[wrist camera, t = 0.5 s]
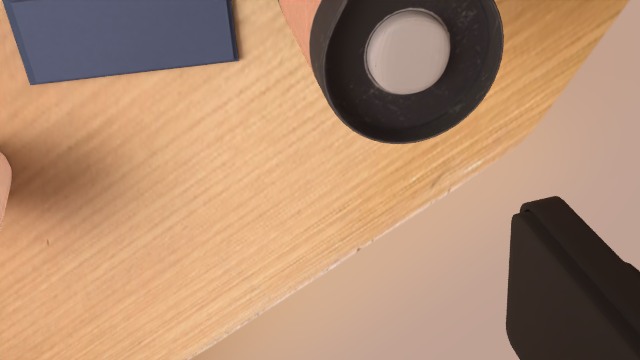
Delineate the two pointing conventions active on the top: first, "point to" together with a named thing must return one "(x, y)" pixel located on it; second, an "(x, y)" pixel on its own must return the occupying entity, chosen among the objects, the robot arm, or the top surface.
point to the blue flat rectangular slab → (119, 36)
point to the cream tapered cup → (4, 185)
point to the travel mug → (399, 61)
